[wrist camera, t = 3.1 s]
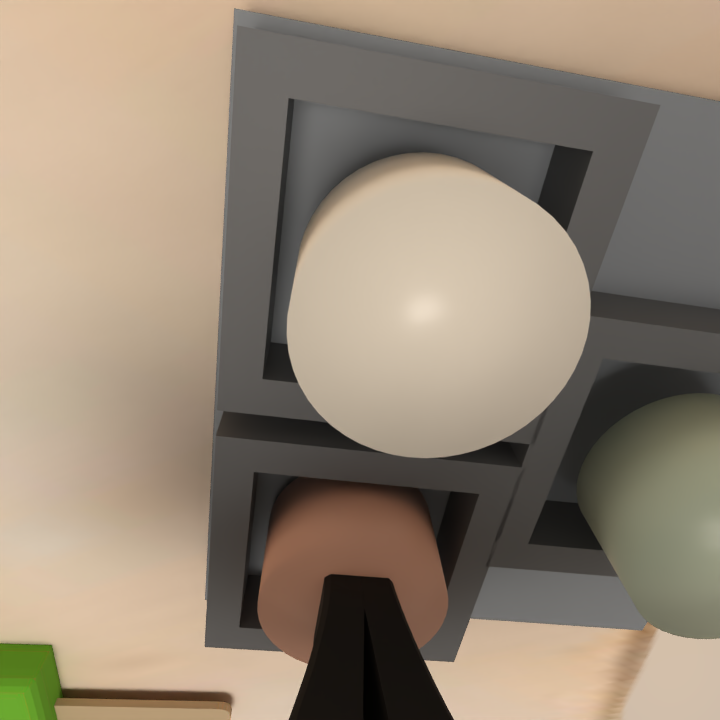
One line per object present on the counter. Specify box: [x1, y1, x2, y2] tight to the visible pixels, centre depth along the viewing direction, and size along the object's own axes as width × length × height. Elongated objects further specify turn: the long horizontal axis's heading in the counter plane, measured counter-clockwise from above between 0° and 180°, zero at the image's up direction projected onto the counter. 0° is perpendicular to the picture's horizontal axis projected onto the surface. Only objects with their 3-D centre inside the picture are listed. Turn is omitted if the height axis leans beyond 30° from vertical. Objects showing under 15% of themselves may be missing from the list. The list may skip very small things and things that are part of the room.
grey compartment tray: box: [205, 8, 720, 662], centre depth 13 cm, size 13×14×3 cm
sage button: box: [577, 393, 720, 639], centre depth 11 cm, size 4×4×2 cm
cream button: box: [287, 152, 591, 458], centre depth 8 cm, size 4×4×2 cm
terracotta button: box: [257, 476, 448, 664], centre depth 13 cm, size 4×4×2 cm
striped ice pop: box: [0, 644, 232, 720], centre depth 18 cm, size 6×15×2 cm, turn 84°
